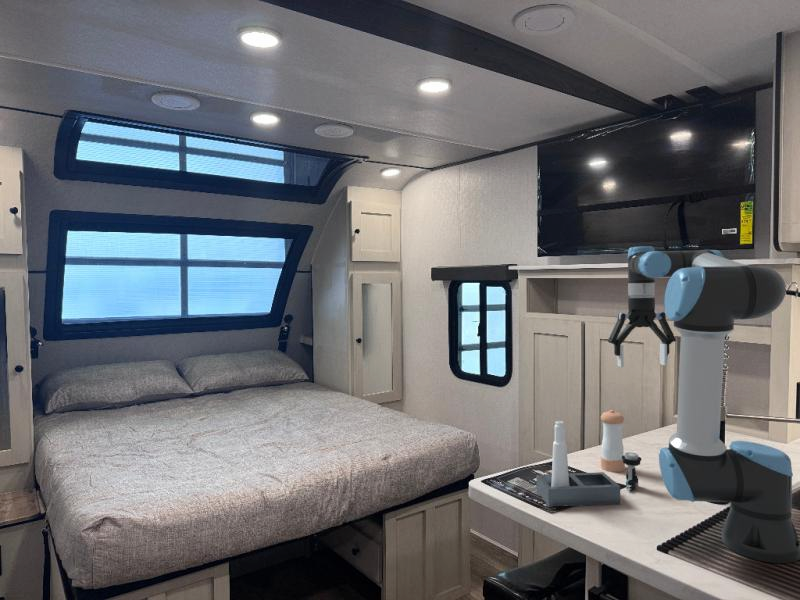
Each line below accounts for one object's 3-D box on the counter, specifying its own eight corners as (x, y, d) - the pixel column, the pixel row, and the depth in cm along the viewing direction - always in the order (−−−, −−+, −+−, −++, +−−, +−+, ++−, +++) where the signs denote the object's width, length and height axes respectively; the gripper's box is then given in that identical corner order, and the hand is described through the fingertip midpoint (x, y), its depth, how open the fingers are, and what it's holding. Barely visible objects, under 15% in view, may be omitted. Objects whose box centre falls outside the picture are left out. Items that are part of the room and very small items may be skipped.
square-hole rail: (603, 488, 160) (603, 472, 160) (620, 504, 149) (620, 486, 149) (536, 491, 159) (536, 474, 159) (548, 507, 148) (548, 489, 148)
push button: (637, 494, 155) (637, 459, 155) (618, 490, 159) (617, 456, 158) (643, 486, 161) (643, 453, 160) (625, 483, 164) (624, 450, 164)
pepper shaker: (621, 473, 172) (620, 413, 171) (597, 469, 176) (597, 410, 175) (627, 466, 177) (626, 409, 177) (604, 462, 182) (604, 406, 181)
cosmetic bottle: (568, 494, 157) (567, 418, 156) (574, 502, 151) (573, 424, 150) (547, 494, 157) (545, 419, 156) (552, 503, 151) (551, 425, 150)
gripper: (674, 295, 171) (674, 362, 172) (596, 297, 170) (597, 364, 171) (688, 296, 163) (688, 366, 164) (606, 298, 162) (607, 368, 163)
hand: (641, 365), depth 168 cm, fingers open, 13 cm apart
